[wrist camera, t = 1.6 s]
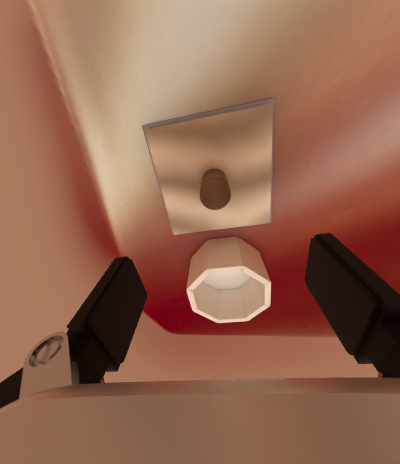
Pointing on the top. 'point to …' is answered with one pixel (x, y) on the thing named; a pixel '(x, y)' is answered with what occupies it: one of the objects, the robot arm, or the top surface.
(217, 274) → the bowl
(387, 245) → the top surface
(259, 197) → the lid
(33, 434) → the robot arm
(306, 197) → the top surface
